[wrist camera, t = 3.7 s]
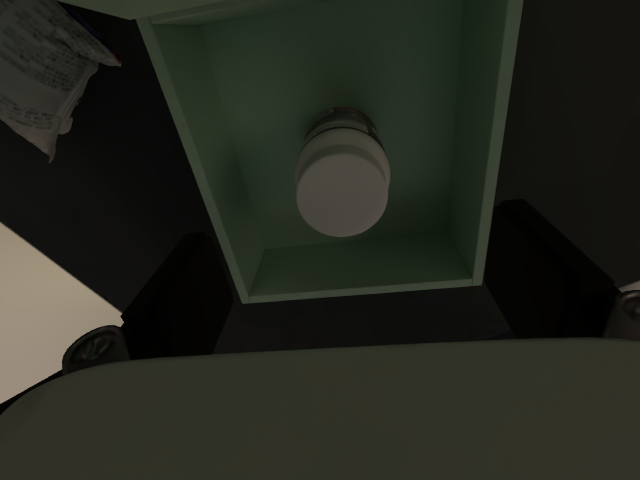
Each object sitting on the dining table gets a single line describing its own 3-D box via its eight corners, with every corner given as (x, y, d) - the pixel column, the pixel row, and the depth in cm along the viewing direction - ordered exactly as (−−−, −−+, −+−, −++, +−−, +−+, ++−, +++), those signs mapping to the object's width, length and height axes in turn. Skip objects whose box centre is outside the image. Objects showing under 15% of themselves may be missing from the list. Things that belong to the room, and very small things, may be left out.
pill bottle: (375, 178, 22) (392, 247, 15) (306, 177, 22) (291, 245, 15) (381, 104, 20) (405, 145, 13) (303, 104, 20) (284, 145, 13)
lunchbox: (452, 233, 25) (481, 285, 20) (260, 251, 27) (241, 303, 22) (474, -41, 16) (534, -73, 11) (189, 14, 18) (131, 9, 13)
